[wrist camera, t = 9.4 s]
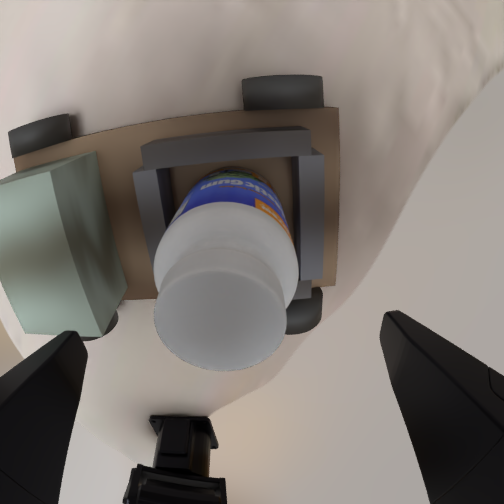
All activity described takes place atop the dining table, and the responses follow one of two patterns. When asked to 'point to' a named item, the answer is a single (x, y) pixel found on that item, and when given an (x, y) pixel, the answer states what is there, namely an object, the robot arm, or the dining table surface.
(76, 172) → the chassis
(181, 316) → the pill bottle
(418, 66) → the dining table surface
